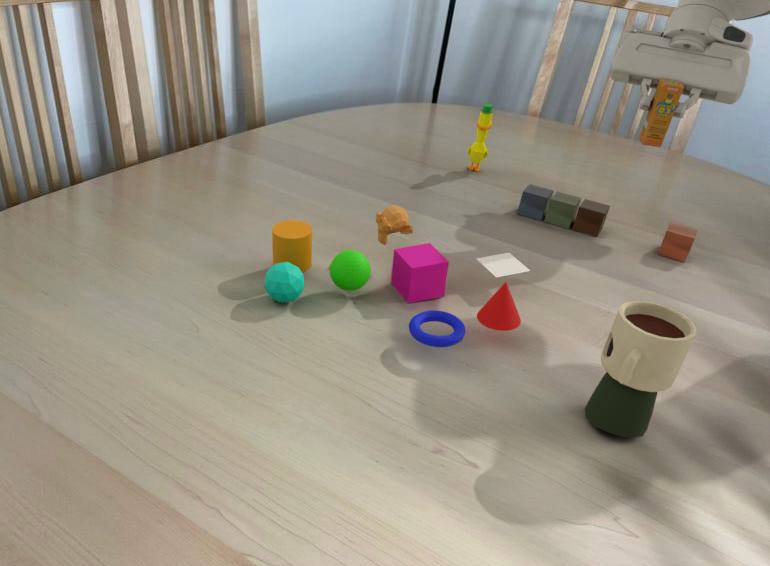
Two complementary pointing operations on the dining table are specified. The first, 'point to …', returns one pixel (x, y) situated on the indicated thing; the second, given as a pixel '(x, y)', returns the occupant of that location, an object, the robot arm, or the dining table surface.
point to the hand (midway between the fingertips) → (661, 112)
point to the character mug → (638, 366)
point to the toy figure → (481, 138)
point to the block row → (594, 218)
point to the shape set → (409, 275)
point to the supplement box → (661, 112)
